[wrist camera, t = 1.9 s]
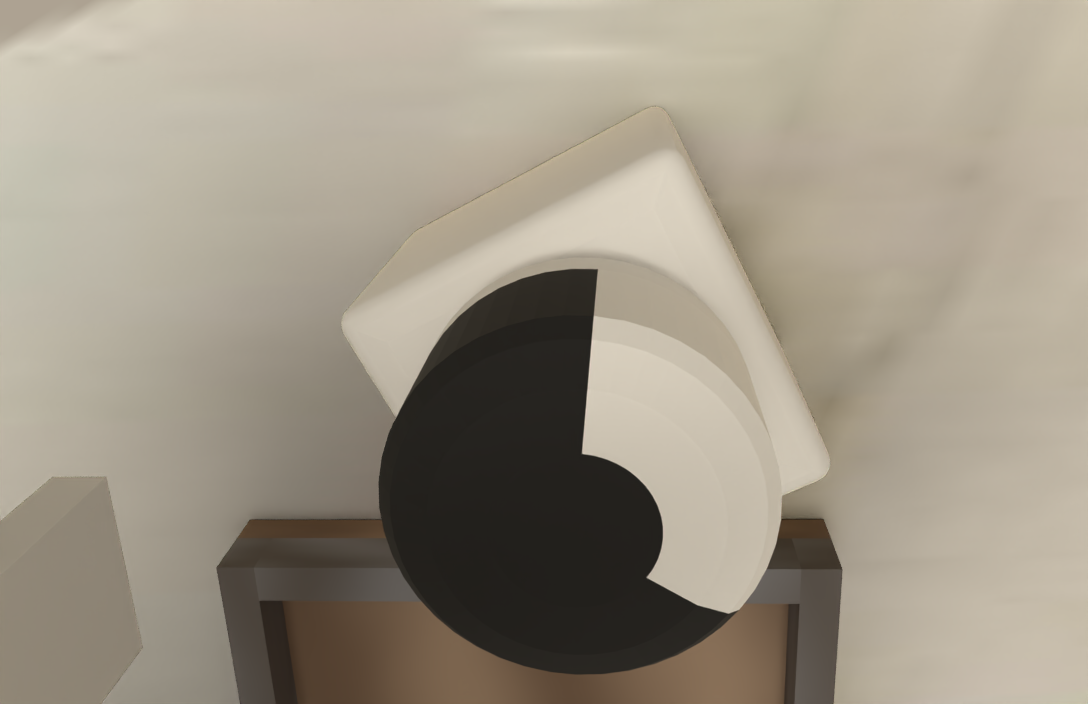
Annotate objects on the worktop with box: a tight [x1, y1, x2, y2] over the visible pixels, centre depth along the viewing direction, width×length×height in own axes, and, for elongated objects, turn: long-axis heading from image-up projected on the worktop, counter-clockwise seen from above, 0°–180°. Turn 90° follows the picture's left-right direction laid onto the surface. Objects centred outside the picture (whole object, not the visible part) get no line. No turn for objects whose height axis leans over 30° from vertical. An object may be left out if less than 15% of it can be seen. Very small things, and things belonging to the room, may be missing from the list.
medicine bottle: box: [341, 106, 830, 675], centre depth 20 cm, size 7×7×12 cm
